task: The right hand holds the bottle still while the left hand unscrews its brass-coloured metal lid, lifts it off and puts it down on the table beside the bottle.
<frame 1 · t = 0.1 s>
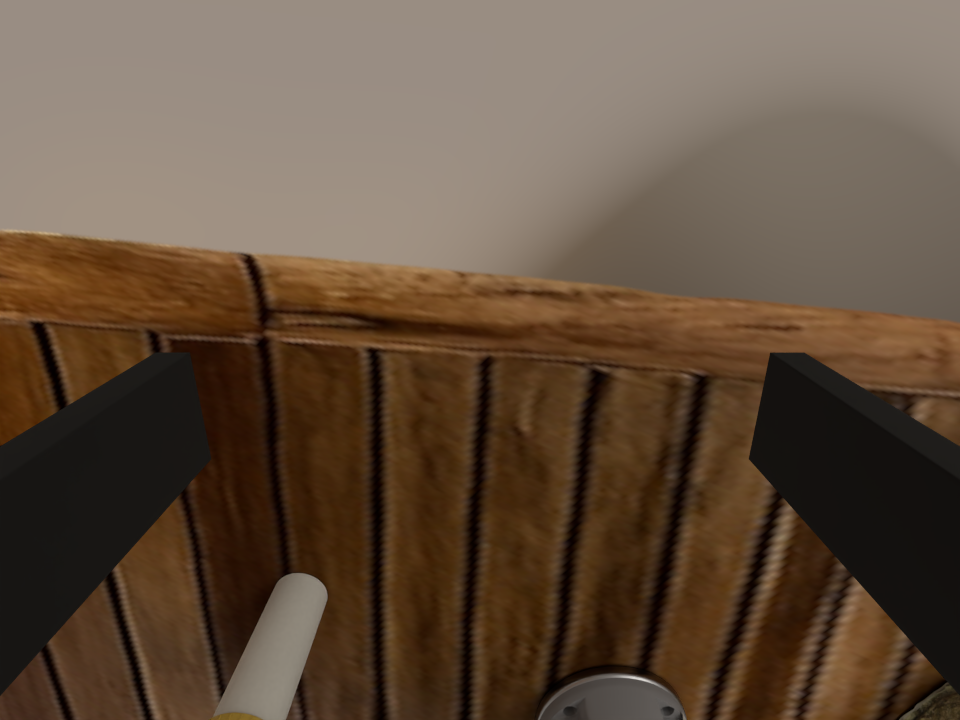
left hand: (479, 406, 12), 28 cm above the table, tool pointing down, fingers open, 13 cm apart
bottle: (301, 593, 50), on the table
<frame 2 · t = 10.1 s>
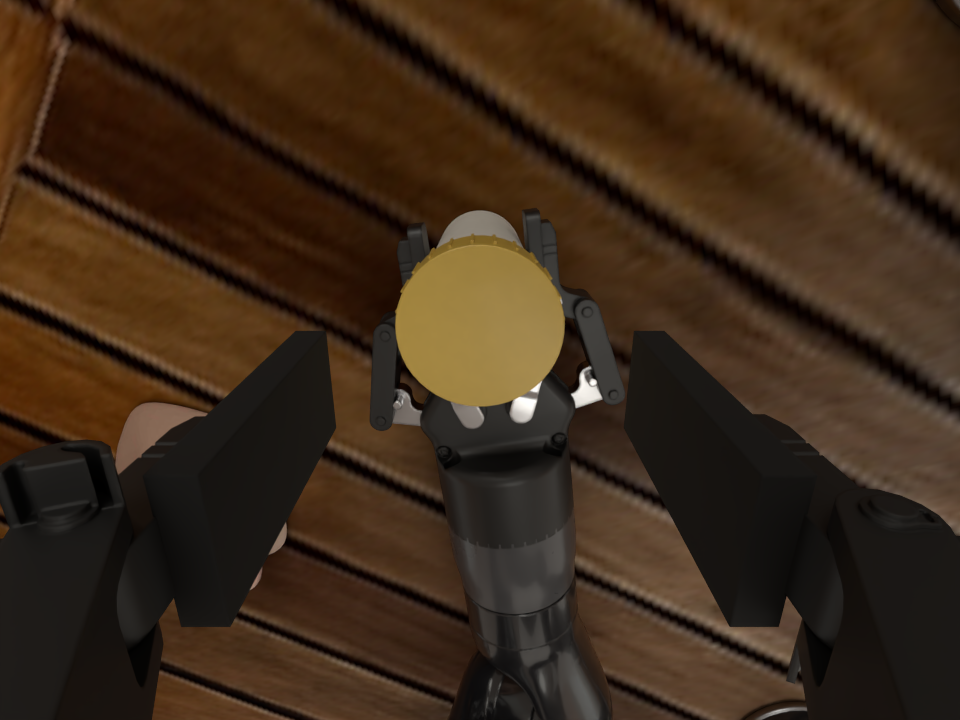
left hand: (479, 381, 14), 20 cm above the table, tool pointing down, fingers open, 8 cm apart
right hand: (472, 219, 26), fingers closed on bottle, 5 cm apart
bottle: (479, 252, 33), on the table, touching right hand
lid: (479, 327, 18), point 15 cm above the table, screwed on, not yet turned
anatomical model: (203, 485, 38), on the table
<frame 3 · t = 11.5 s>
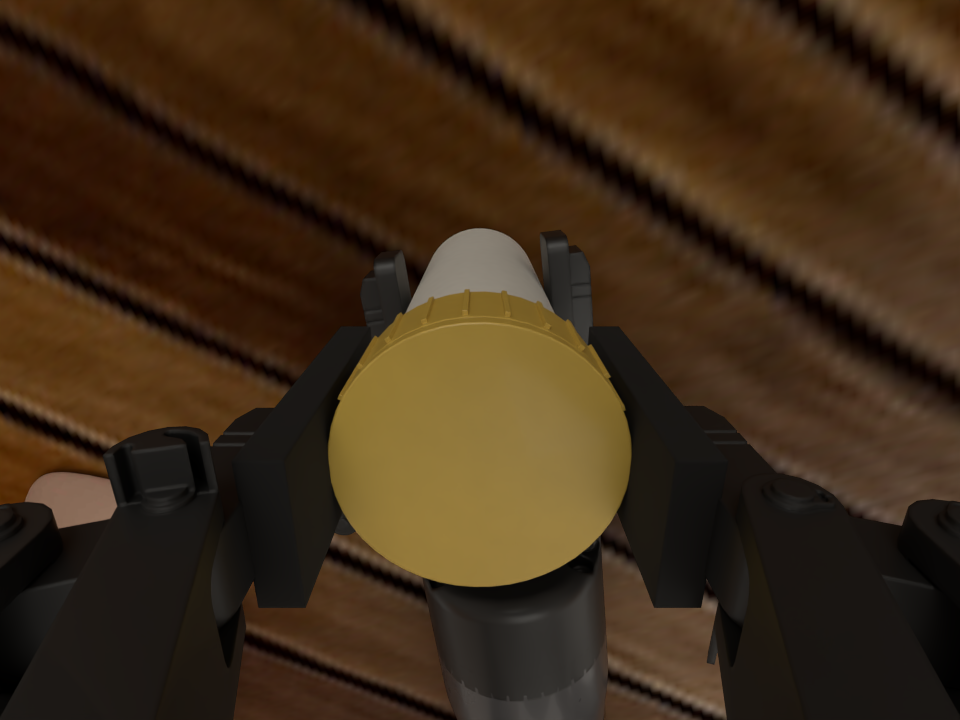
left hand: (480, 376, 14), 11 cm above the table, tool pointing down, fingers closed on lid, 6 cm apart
bottle: (480, 282, 25), on the table, touching right hand
lid: (479, 458, 10), point 15 cm above the table, screwed on, not yet turned, touching left hand
anatomical model: (131, 570, 31), on the table
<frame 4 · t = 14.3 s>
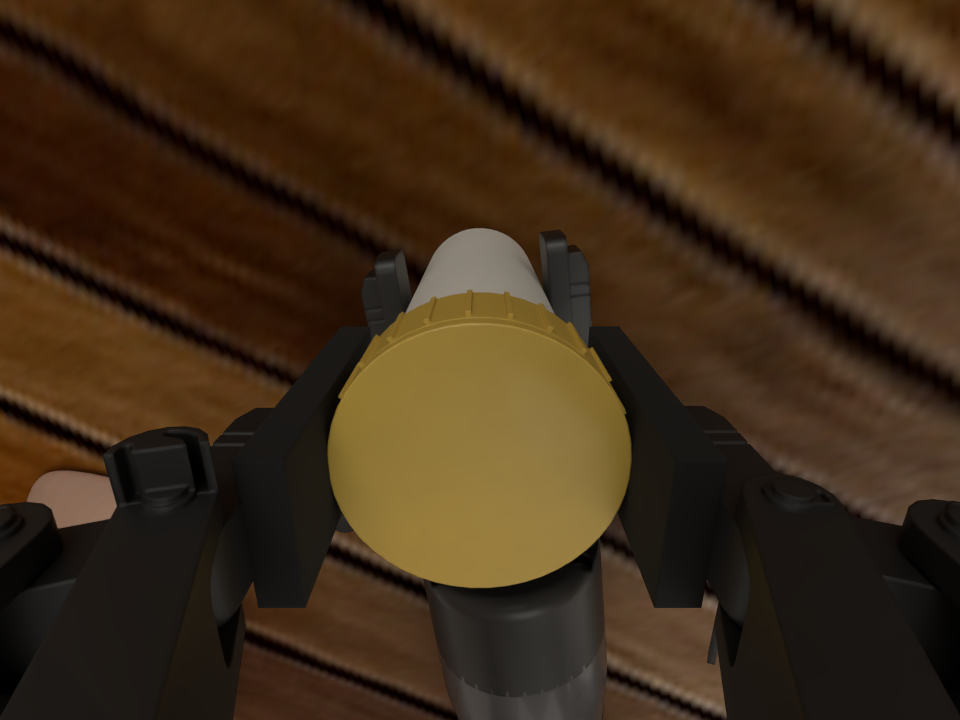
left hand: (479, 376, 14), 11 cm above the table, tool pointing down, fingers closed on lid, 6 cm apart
bottle: (479, 282, 25), on the table, touching right hand
lid: (479, 459, 10), point 16 cm above the table, turned 59° so far, risen 0.2 cm, still on its thread, touching left hand
anatomical model: (133, 568, 31), on the table
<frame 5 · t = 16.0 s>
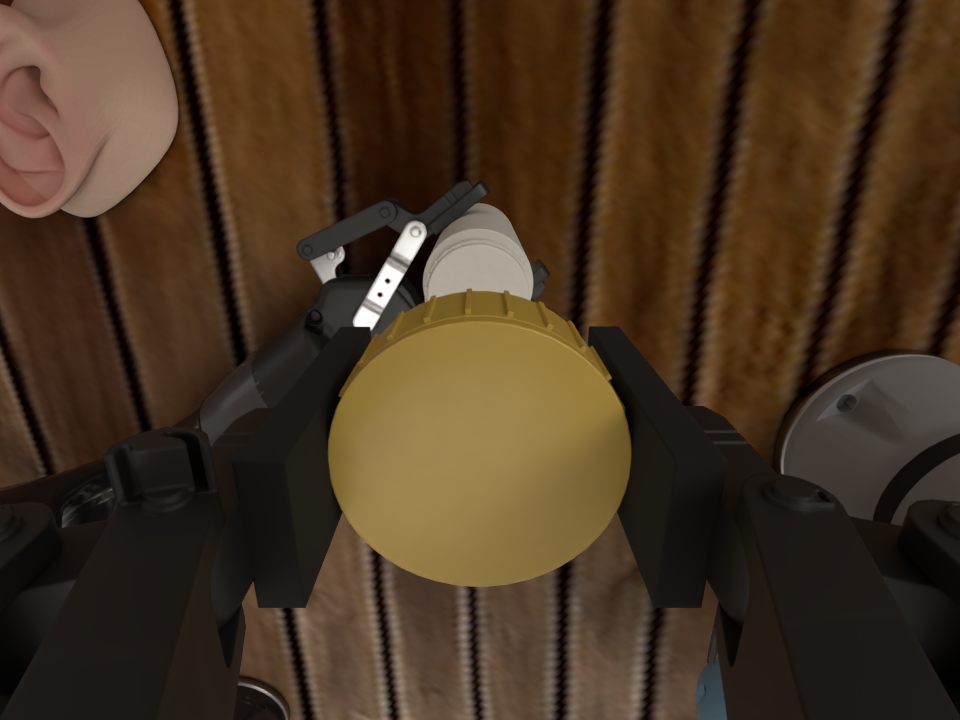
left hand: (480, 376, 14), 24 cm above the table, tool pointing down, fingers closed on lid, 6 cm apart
bottle: (478, 240, 36), on the table, touching right hand
lid: (479, 457, 10), point 28 cm above the table, off its thread, touching left hand
anatomical model: (84, 100, 33), on the table
when the left hand's fingers open (0 cm above the table, at t = 21.3 s): lid drops 2 cm, point 2 cm above the table.
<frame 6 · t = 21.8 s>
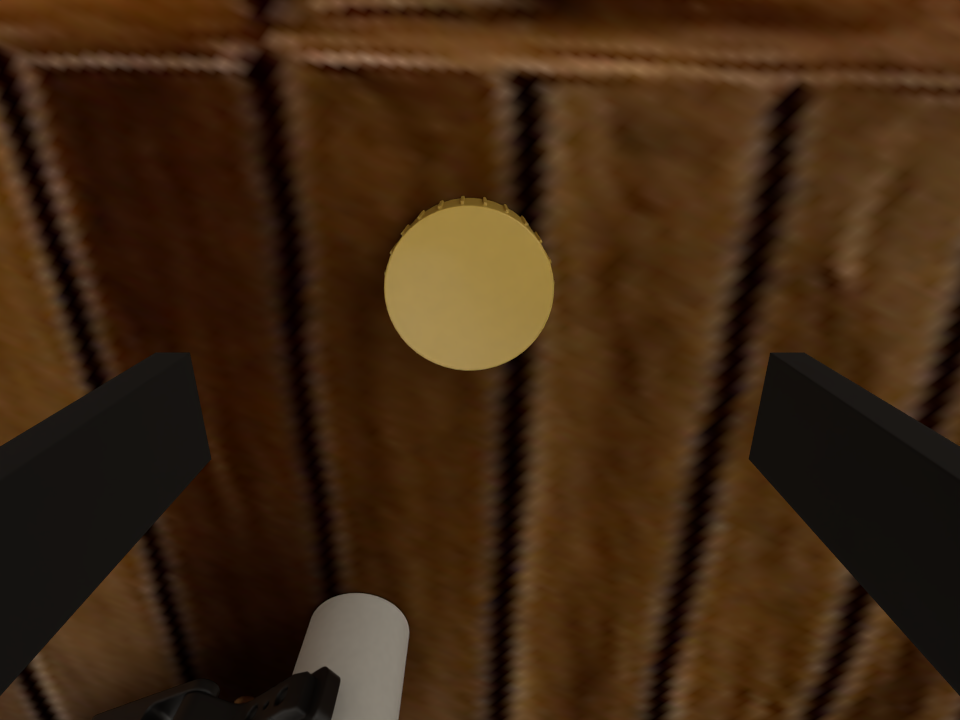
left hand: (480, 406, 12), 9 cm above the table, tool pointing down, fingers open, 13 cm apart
bottle: (359, 629, 27), on the table, touching right hand
lid: (469, 290, 18), point 2 cm above the table, off its thread
when the right hand's fingers open (6 cm above the table, at t = 22.1 s): bottle stays where it is, on the table.
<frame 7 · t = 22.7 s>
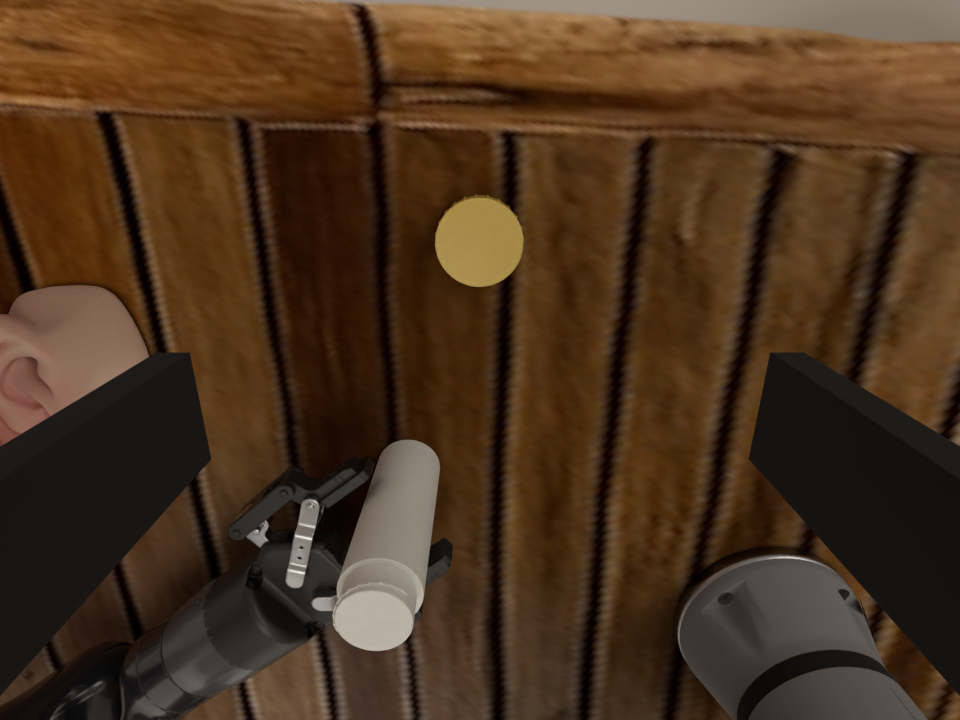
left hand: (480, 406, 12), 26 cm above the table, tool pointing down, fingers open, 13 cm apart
right hand: (410, 508, 37), fingers open, 8 cm apart
bottle: (409, 466, 43), on the table
lid: (479, 242, 35), point 2 cm above the table, off its thread
anatomical model: (74, 366, 40), on the table
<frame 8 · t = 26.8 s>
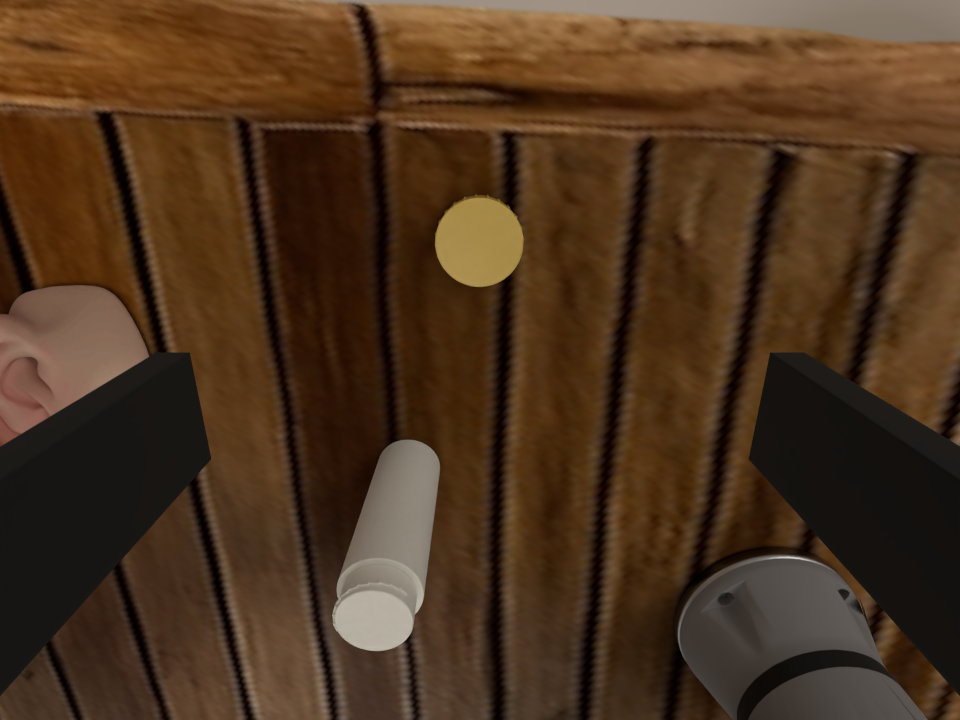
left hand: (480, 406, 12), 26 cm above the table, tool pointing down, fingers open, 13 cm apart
bottle: (409, 466, 43), on the table
lid: (479, 242, 35), point 2 cm above the table, off its thread
anatomical model: (74, 366, 40), on the table
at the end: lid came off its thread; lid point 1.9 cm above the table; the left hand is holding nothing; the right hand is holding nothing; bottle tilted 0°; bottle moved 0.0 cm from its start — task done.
